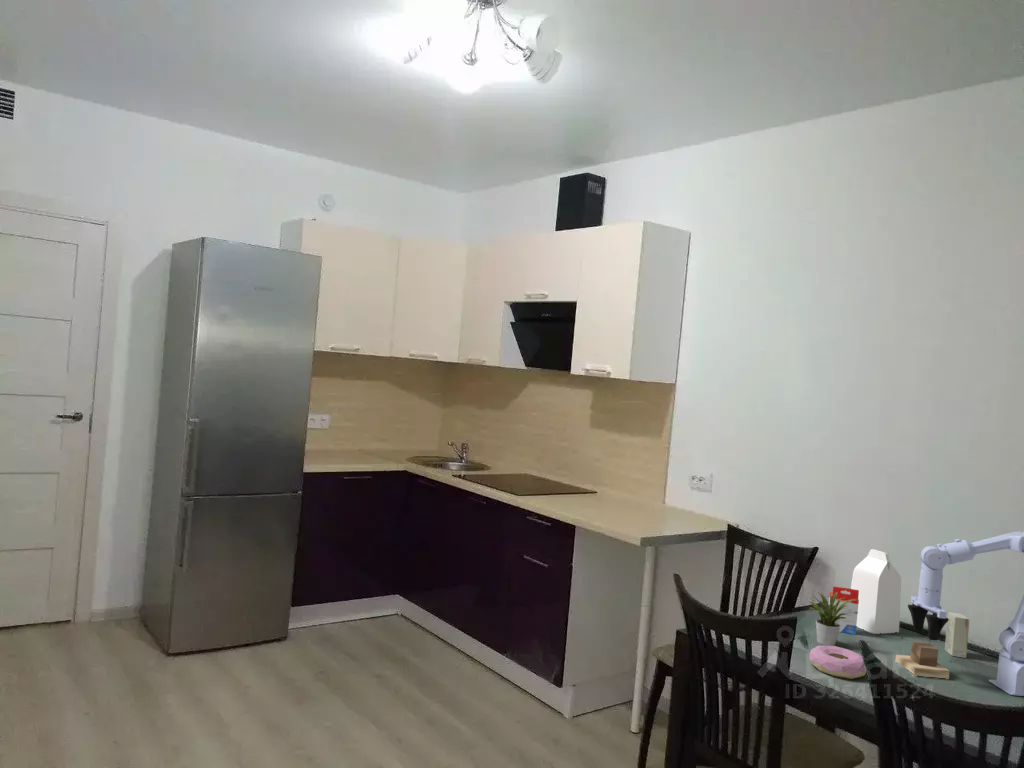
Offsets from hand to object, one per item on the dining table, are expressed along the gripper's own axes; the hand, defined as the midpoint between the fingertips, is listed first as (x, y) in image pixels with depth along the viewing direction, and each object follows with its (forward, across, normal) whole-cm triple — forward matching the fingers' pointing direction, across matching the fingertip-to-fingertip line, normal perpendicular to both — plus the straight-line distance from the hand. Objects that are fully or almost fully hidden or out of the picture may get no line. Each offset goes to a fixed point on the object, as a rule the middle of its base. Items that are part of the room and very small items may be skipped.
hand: (925, 635), depth 219 cm
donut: (+11, +5, -27) cm, 30 cm away
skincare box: (+11, -18, +21) cm, 30 cm away
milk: (+11, -39, +5) cm, 41 cm away
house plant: (+11, -18, -19) cm, 28 cm away
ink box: (+11, -32, -9) cm, 35 cm away
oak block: (+11, 0, 0) cm, 11 cm away
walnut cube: (+8, 0, 0) cm, 8 cm away
